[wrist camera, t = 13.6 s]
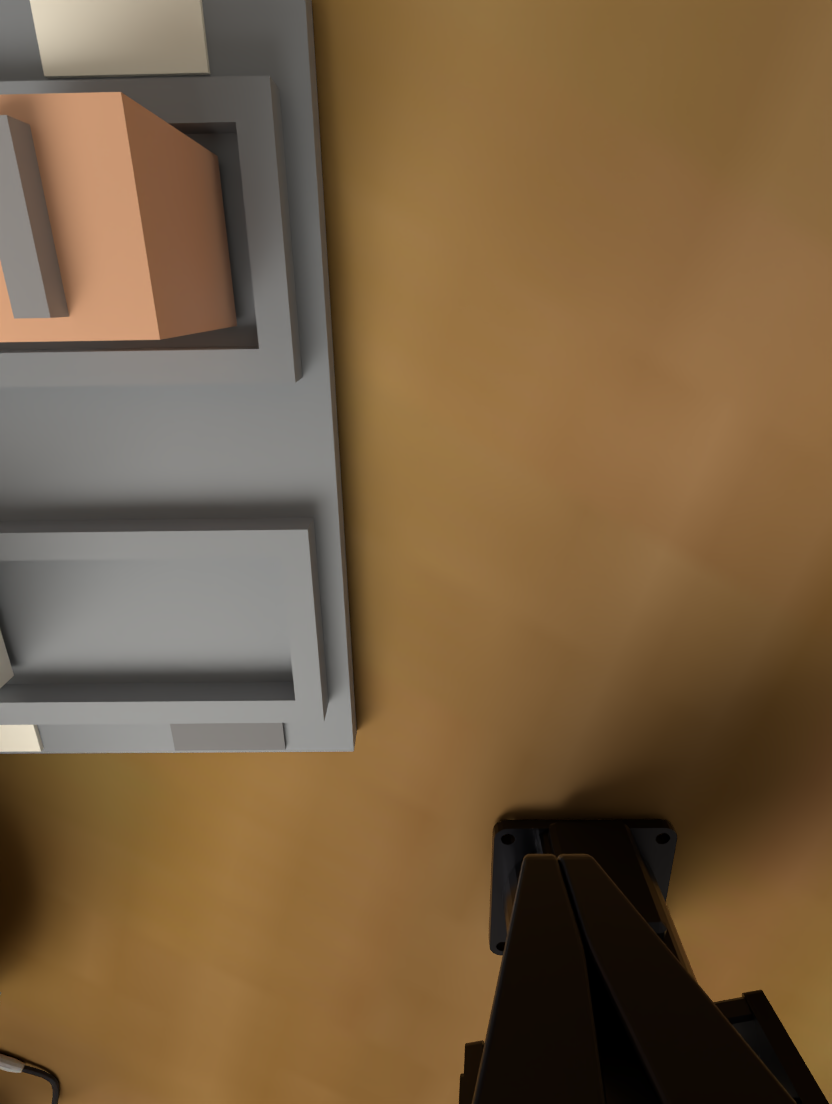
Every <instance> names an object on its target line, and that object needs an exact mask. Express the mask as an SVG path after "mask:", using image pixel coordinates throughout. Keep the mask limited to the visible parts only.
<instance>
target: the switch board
mask: <svg viewBox="0 0 832 1104" xmlns="http://www.w3.org/2000/svg"><path fill="white" fill-rule="evenodd" d="M94 92H122V93H123V94H125V95H126V96H128V97H129V98H131V99H132V100H134V101H135V102H137V103H138V104H140V105H141V106H143V107H144V108H146V109H147V110H149V111H150V112H152V113H153V114H155V115H156V116H158V117H159V118H161V119H162V120H164V121H165V122H167V123H168V124H170V125H171V126H173V127H174V128H176V129H177V130H179V131H180V132H182V133H183V134H185V135H186V136H188V137H189V138H191V139H192V140H194V141H195V142H197V143H198V144H200V145H201V146H203V147H204V148H206V149H207V150H209V151H211V152H212V153H214V154H215V155H217V156H218V162H219V171H220V180H221V189H222V197H223V206H224V215H225V224H226V232H227V241H228V250H229V259H230V268H231V276H232V285H233V294H234V303H235V311H236V320H237V326H233V327H228V328H222V329H217V330H211V331H206V332H200V333H195V334H189V335H183V336H178V337H172V338H167V339H161V340H113V341H50V342H0V630H1V633H2V637H3V640H4V643H5V647H6V650H7V654H8V657H9V660H10V664H11V667H12V671H13V674H14V676H13V677H12V678H11V679H10V680H9V681H8V682H7V683H5V684H4V685H3V686H2V687H1V688H0V754H28V753H181V752H335V751H354V747H355V740H356V733H357V729H356V712H355V696H354V680H353V664H352V647H351V631H350V615H349V599H348V582H347V566H346V550H345V534H344V517H343V501H342V485H341V469H340V453H339V436H338V420H337V404H336V388H335V371H334V355H333V339H332V323H331V306H330V290H329V274H328V258H327V241H326V225H325V209H324V193H323V176H322V160H321V144H320V128H319V111H318V95H317V79H316V63H315V47H314V30H313V14H312V0H0V95H2V94H48V93H94Z"/></svg>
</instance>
